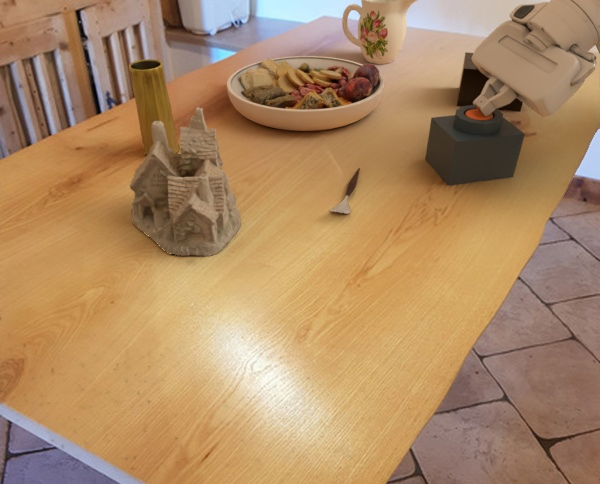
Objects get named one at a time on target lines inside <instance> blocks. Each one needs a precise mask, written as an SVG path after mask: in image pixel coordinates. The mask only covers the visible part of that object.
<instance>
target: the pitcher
mask: <svg viewBox="0 0 600 484" xmlns="http://www.w3.org/2000/svg"><path fill="white" fill-rule="evenodd" d="M415 2H418V0H361V5H359V4H357V3H351V4H349V5H347V7H346V8H345V9H344V10H343V13H342V18H341V25H342V31H343V34H344V36H345V37H346V39H347V41H349V42H350V43H351V44H353V45H355V46H357V47H359V49H360V52H361V54H362V56H363V58H364V59H365V61H366V62H368V63H369V64H373V65H375V64H376V65H385V64H391V63H393V62H394V60H395V59H396V58H397V57H398V55H399V53H400V51H401V49H402V47H403V44H404V42H405V38H406V32H407V23H408V19H407V13H408V11H409V9H410V7H411V6H412V5H413V4H414V3H415ZM352 11H355V12H356V13H358V15H359V18H358V23H357V37H355V36H354V35H353V33H352V32H351V31H350V29H349V25H348V20H349V15H350V13H351V12H352Z"/></svg>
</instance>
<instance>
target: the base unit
mask: <svg viewBox="0 0 600 484" xmlns="http://www.w3.org/2000/svg"><path fill="white" fill-rule="evenodd" d="M473 53H474V52H468V51H467V52H465V53H464V58H463V63H462V69H461V73H460V74H461V76H460V81H459V86H458V94H457V101H456V107H463V106H469V105H473V101H474V100H475V99H476V98H477V97H478V96H479V95H480V94H481V92H482V90H483V88H484V86H485V84H486V82H487V81H488V80H489V78H488V77H487V76H485V75H484V74H483V73H481V72H480V71H479V69H478V68H477V67H476V66H475V64H474V63H473V61H472V56H473ZM499 93H500V92H499ZM496 94H497V93H495V94H494V96H495V95H496ZM523 104H524V103H523V102H521V101H520V100H519V99H517V98H515V99H514V100H513V101H512V102H511V103H510V104H507V105H505V106H502V107H500V108H498V109H497V110H499V111H509V112H521V111H522V107H523Z"/></svg>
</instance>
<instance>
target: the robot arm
mask: <svg viewBox="0 0 600 484" xmlns="http://www.w3.org/2000/svg"><path fill="white" fill-rule="evenodd" d="M509 18H510V19H509V20H506V21H504V22H502V23H501V24H499V25H498V26H497V27H496V28H495V29H494V30H493V31H492V32H491V33H489V34H488V36H487V37H485V39H484V40H483V41H481V43H480V44H479V45H478V46H477V47H476V48H475V50H474V51H473V52H472V53H473V56H472V61H473V63H474V64H475V66H476V67H477V68H478V69H479V71H480V72H481V73H483V74H484V75H485V76H487V77H488V78H489V80H488V81H487V82H486V84H485V86H484V88H483V90H482V92H481V94H480V95H479V96H478V97H477V98H476V99H475V100H474V101H473V105H474V106H475V107H476V109H478V110H479V111H480V112H481V113H482V114H484V115H485V116H489V115H490V114H491V113H492V112H493V111H494V110H495V109H498V108H500V107H502V106H505V105H507V104H510V103H511V102H512V101H513V100H514V99H515V98H517V99H519V100H520V101H521V102H523V104H524V105H525V106H526V107H528V108H530V109H531V110H532V111H534V112H535V113H537V114H538V115H540V116H541V117H542V118H547V117H549V116H552V115H554V114H556V113H557V112H558V111H559V110H560V109H561V108H562V107H563V106H564V105H565V104H566V103H567V102H568V101H569V100H570V99H571V98H572V97H573V96H574V94H575V93H577V92H578V90H579V89H580V88H581V87H582V86H583V84H584V83H585V81H586V79H587V78H588V77H590V76H591V75H592V74H593V73H594V72H595V70H596V66H597V56H596V54H594V53H593V52H590V51H591V50H592V49H593V48H594V47H596V49H597V51H598V54H600V0H549V1H542V2H538V3H530V4H527V3H526V4H519V5H517V6H516V7H515V8H514V9H513V10H512V11H511V12H510V13H509ZM499 92H500V93H499ZM495 93H497V94H496V95H495V96H494V94H495Z"/></svg>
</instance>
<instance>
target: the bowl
mask: <svg viewBox="0 0 600 484" xmlns="http://www.w3.org/2000/svg"><path fill="white" fill-rule="evenodd" d="M384 85H385V83H384V79H383V77H382V75H381V74H380V70H379V69H378V67H377V66H375V64H372V63H366V64H362V63H360V62H356V61H353V60H349V59H344V58H338V57H333V56H320V55H298V56H297V55H295V56H293V55H292V56H282V57H275V58H267V59H264V60H260V61H256V62H253V63H250V64H248V65H245V66H243V67H241V68H239V69H237V70H236V71H234V72H233V73H231V75H230V76H228V79H227V81H226V91H227V96H228V98H229V101H230V103H231V105H232V106H233V107H234V109H235V110H236V111H237V112H238V113H239V114H240V115H242V116H243V117H245V118H246V119H248V120H250V121H251V122H253V123H256V124H259V125H260V126H261V125H262V126H264V127H268V128H274V129H277V130H285V131H292V132H293V131H296V132H297V131H298V132H313V131H314V132H315V131H325V130H331V129H336V128H342V127H345V126H348V125H351V124H353V123H356V122H358V121H360V120H362V119H364V118H365V117H366V116H368V115H370V113H372V112H373V111H374V110H375V109H376V108H377V106H378V104H380V101H381V99H382V96H383V92H384Z"/></svg>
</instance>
